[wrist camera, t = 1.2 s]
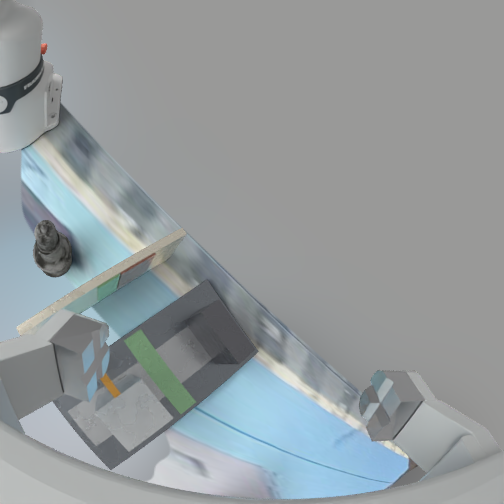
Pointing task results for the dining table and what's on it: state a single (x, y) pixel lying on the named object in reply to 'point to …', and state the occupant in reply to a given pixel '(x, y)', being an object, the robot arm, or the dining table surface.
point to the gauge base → (154, 348)
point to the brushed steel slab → (130, 410)
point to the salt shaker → (51, 250)
